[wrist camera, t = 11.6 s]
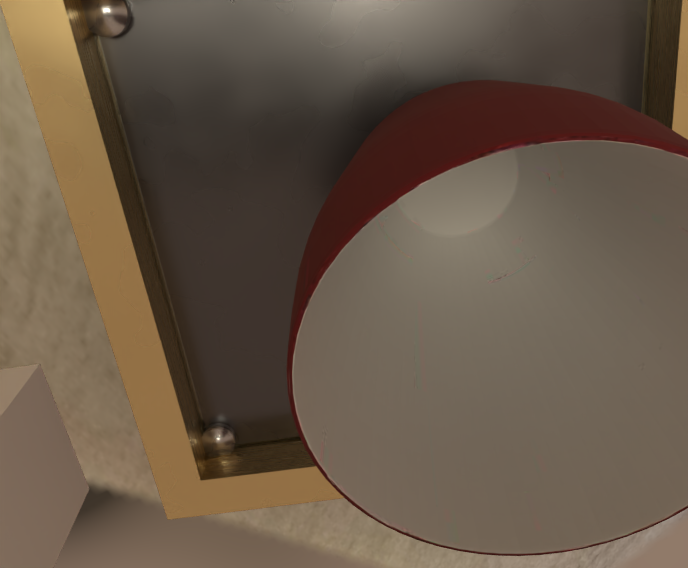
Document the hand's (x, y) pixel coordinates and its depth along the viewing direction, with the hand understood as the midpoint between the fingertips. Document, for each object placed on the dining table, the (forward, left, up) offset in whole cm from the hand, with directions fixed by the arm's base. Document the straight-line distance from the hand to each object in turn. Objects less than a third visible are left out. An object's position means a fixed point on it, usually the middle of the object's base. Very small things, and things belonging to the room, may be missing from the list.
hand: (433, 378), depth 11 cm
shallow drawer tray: (0, -2, -13) cm, 14 cm away
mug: (+3, 0, -9) cm, 10 cm away
